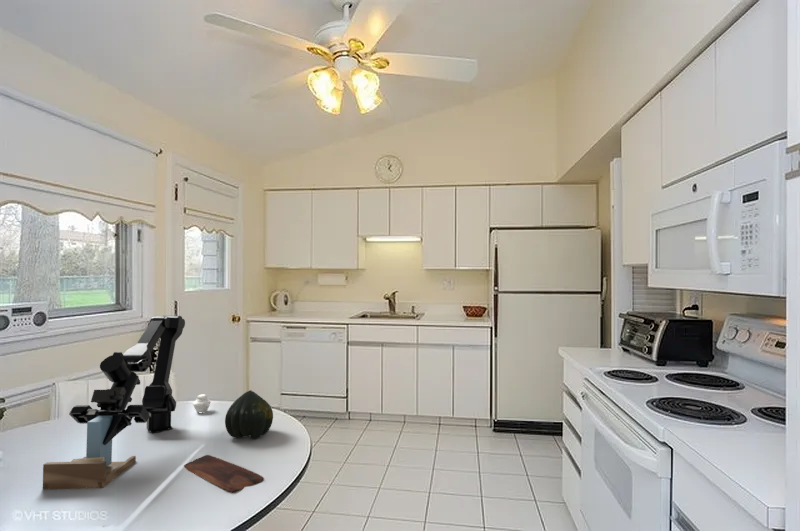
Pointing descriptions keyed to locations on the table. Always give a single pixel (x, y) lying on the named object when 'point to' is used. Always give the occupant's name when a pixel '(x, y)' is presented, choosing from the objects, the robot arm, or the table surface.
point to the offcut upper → (88, 459)
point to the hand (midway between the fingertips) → (96, 444)
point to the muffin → (201, 403)
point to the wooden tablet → (223, 473)
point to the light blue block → (99, 438)
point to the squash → (249, 416)
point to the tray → (82, 474)
